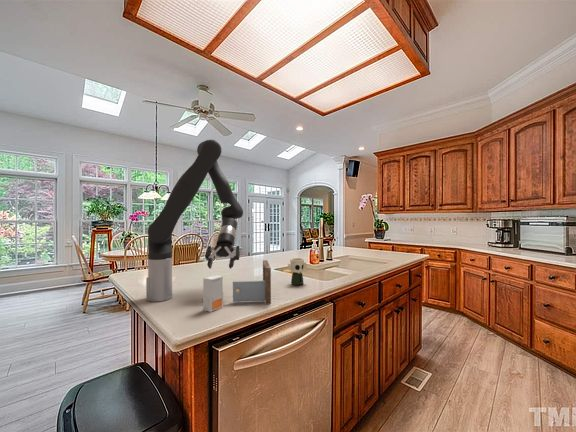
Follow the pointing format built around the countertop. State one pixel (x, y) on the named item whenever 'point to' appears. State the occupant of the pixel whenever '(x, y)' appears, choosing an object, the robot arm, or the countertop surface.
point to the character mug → (297, 270)
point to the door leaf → (249, 291)
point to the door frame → (267, 280)
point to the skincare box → (212, 293)
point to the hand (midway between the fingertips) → (219, 267)
